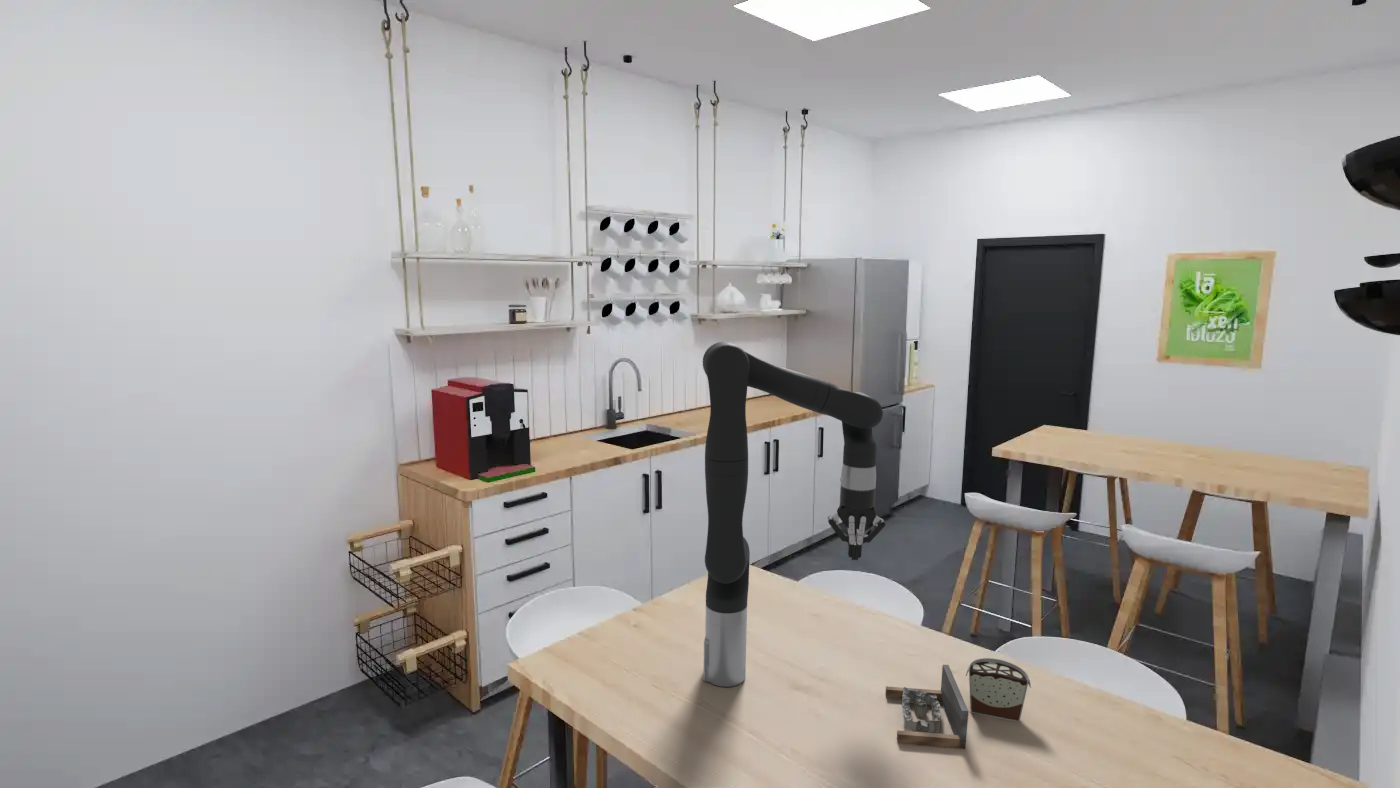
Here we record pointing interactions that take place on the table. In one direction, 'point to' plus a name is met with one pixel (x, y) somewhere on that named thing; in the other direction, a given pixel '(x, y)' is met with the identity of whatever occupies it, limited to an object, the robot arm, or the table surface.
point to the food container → (997, 688)
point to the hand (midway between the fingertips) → (854, 558)
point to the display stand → (953, 710)
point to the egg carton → (920, 710)
